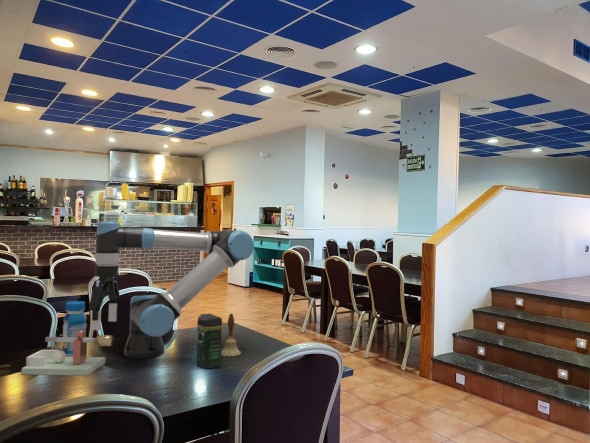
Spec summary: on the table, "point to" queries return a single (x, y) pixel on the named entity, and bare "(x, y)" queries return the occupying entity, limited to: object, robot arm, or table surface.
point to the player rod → (83, 344)
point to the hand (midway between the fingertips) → (104, 325)
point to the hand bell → (230, 341)
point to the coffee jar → (209, 341)
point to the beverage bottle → (73, 323)
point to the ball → (59, 356)
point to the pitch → (59, 365)
